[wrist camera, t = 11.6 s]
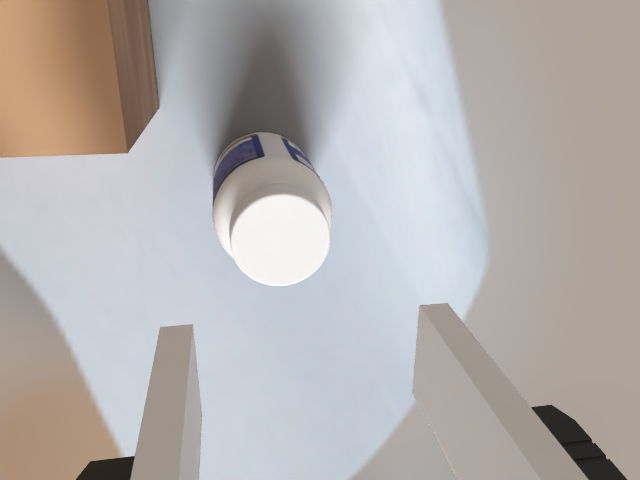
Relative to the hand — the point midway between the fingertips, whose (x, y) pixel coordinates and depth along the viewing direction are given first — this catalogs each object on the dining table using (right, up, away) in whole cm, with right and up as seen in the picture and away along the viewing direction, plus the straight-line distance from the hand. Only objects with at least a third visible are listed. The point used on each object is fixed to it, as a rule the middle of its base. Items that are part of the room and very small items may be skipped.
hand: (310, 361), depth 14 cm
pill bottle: (-3, +6, +15) cm, 17 cm away
